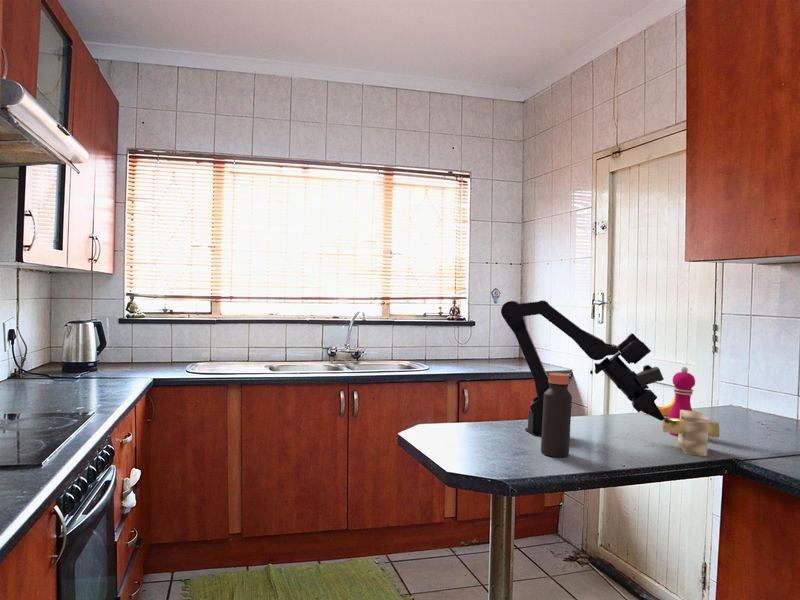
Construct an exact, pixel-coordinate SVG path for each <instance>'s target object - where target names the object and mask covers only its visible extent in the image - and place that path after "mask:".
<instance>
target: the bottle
mask: <svg viewBox="0 0 800 600" xmlns="http://www.w3.org/2000/svg"><path fill="white" fill-rule="evenodd" d="M548 376H549V380H548V382H549V384H550V386H549V389H547V390H546V391H545V392H544V401H543V420H542V435H541V442H540V452H541V453H542V454H543V455H545V456H548V457H552V458H553V457H554V458H565V457H568V456H569V455H570V440H571V422H572V406H573V405H572V404H573V403H572V402H573V401H572V399H573V395H572V393H571V392H570V391H569V389H568V386H569V384H570V374H567V373H563V372H562V373H561V372H549V373H548Z"/></svg>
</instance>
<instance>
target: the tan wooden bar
mask: <svg viewBox="0 0 800 600" xmlns="http://www.w3.org/2000/svg"><path fill="white" fill-rule="evenodd" d="M663 417H664V418H665V419H664V420H663V421H662V432H663V433H669V434H670V433H677V434H685V419H679V418H668V416H663ZM720 428H721V427H720V424H719V422H718V421H709V430H708V438H715V439H716V438H717V439H718V438H720V437H719V436H720Z"/></svg>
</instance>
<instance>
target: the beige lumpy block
mask: <svg viewBox="0 0 800 600" xmlns="http://www.w3.org/2000/svg"><path fill="white" fill-rule="evenodd" d="M680 419H685V434H679V436H677V438H678V440H677V445H679V447H680V449H681V451H682V452H683V453H684V454H685V455H691V456H701V457H708V446H709V445H708V443H709V437H708V430H709V422H710V419H709V418H708V417H707V416H706V415H704V414H703V413H702V412H701V411H696V410H692V411H688V410H680Z"/></svg>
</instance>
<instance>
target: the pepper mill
mask: <svg viewBox="0 0 800 600" xmlns="http://www.w3.org/2000/svg"><path fill="white" fill-rule="evenodd" d="M688 371H689V370H688V368H687V367H686V366H683V367H681V369H680V372H679V371H678V372H676V373H674V375H673V377H672V384H673V386H674V388H673V393H674V396H675V402H674V405H673V407H672V409H671V410H670V412H669V415H667V417H668V418H679V419H680V410H688V411H693V408H692V405H691V398H692V395H694V394H693V387H694V386H696V379H695V377H694V375H693V374H692V373H689V372H688ZM669 434H670V435H672V436H675V437H676V436H677V437H678V436H679V434H677V433H669Z"/></svg>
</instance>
